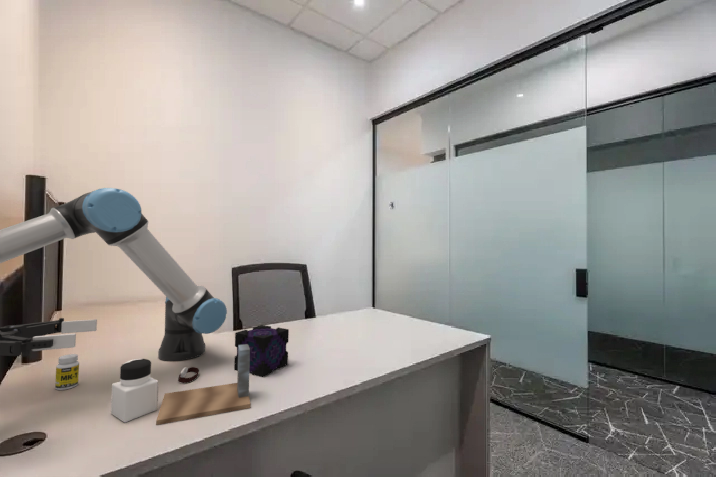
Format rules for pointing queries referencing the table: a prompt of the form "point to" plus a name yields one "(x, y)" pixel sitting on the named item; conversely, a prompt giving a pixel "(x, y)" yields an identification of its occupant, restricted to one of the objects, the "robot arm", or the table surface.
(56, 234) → the robot arm
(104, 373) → the table surface
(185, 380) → the watch
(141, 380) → the medicine bottle
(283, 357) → the energy cube
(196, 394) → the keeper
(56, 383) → the supplement bottle
